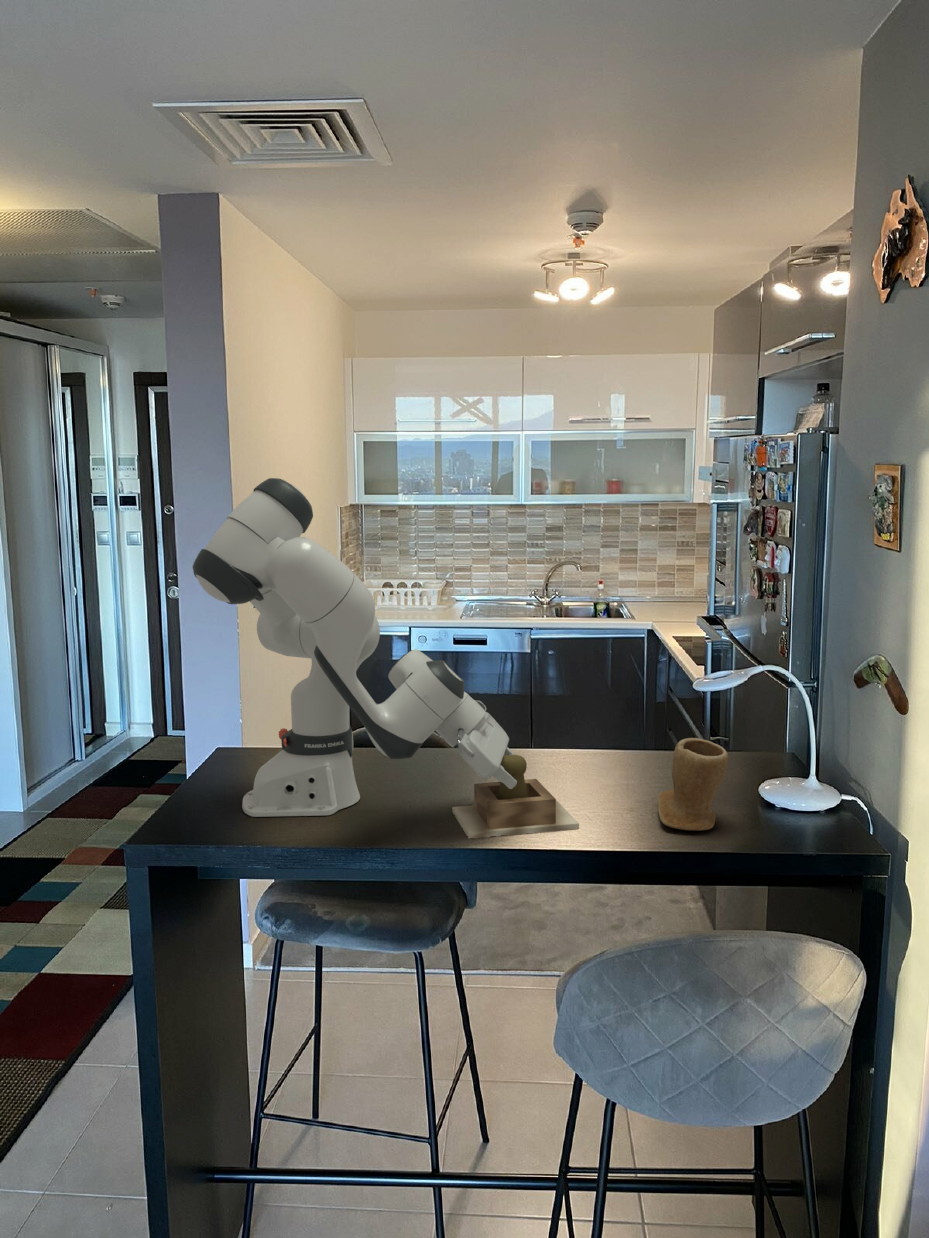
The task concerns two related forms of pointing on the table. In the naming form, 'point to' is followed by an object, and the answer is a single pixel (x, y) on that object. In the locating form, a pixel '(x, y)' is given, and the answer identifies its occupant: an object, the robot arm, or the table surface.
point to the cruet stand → (512, 812)
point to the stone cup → (693, 785)
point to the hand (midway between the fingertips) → (516, 777)
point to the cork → (517, 769)
